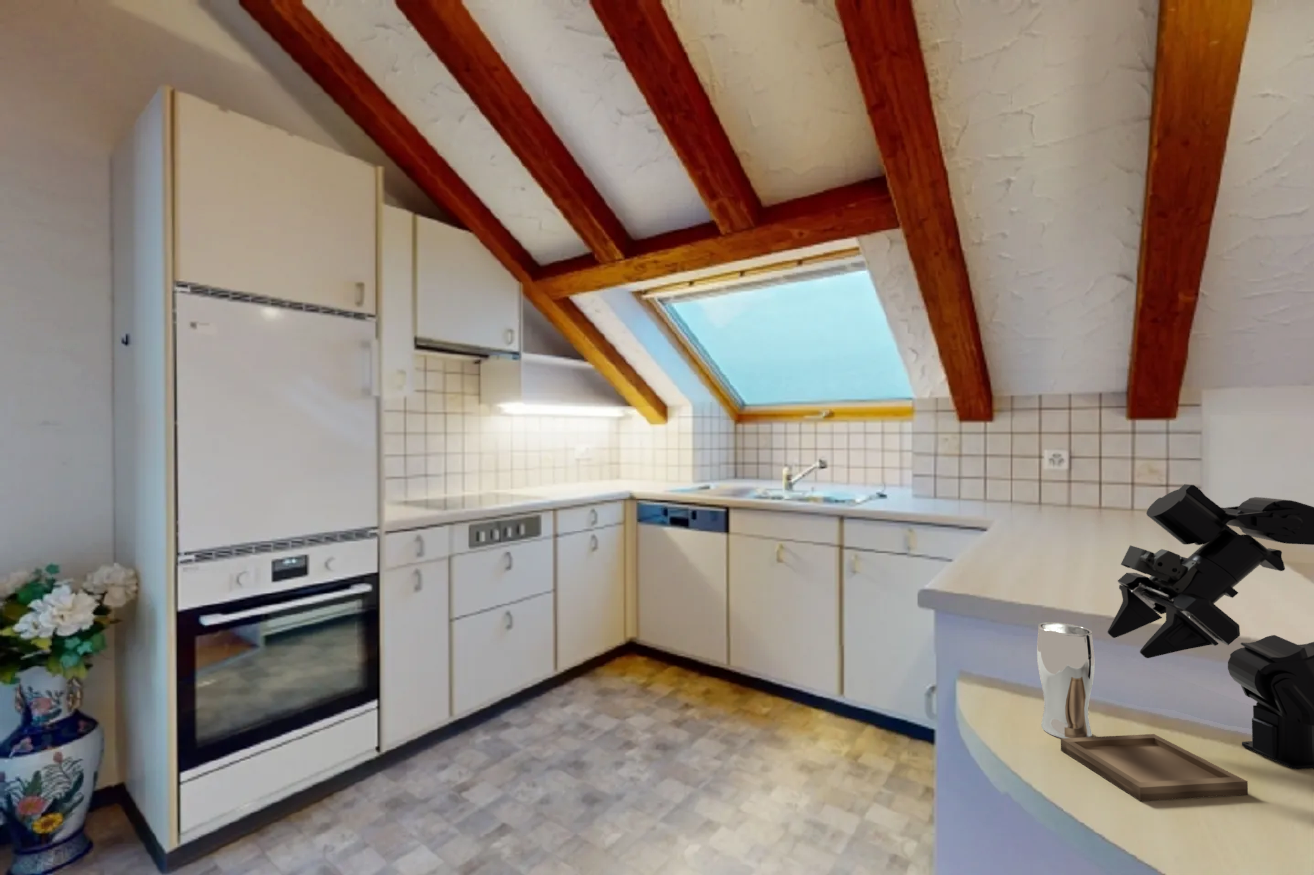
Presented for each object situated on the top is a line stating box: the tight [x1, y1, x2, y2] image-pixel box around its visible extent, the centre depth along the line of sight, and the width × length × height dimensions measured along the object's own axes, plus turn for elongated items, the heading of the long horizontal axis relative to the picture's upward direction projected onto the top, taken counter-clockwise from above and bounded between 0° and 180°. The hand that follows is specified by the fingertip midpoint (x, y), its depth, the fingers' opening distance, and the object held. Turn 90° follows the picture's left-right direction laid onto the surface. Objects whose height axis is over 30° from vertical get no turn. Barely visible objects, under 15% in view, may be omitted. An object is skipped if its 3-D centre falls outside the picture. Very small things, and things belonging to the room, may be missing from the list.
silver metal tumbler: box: [1036, 621, 1096, 739], centre depth 87 cm, size 7×7×15 cm
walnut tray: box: [1060, 733, 1249, 802], centre depth 76 cm, size 14×12×2 cm
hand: (1125, 644), depth 85 cm, fingers open, 9 cm apart
